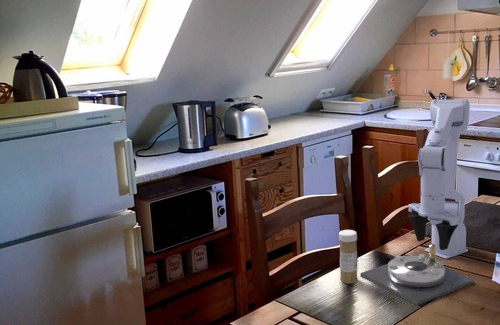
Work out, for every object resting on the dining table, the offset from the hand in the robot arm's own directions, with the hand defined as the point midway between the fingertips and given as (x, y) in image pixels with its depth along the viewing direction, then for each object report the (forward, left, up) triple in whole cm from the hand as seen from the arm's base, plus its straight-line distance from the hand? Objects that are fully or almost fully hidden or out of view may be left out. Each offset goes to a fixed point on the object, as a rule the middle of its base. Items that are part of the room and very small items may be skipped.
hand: (432, 244), depth 138 cm
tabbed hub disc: (+3, -2, -8) cm, 9 cm away
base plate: (+3, -2, -10) cm, 10 cm away
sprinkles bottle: (+17, -12, -10) cm, 23 cm away
